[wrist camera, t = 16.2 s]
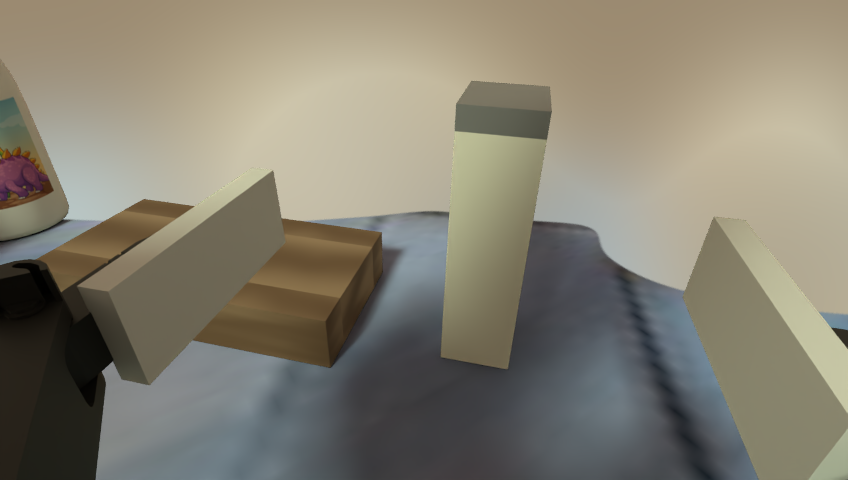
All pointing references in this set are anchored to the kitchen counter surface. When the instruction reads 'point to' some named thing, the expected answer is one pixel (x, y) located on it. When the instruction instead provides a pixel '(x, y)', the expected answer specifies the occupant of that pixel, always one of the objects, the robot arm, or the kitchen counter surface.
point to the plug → (491, 216)
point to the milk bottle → (24, 169)
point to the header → (257, 282)
